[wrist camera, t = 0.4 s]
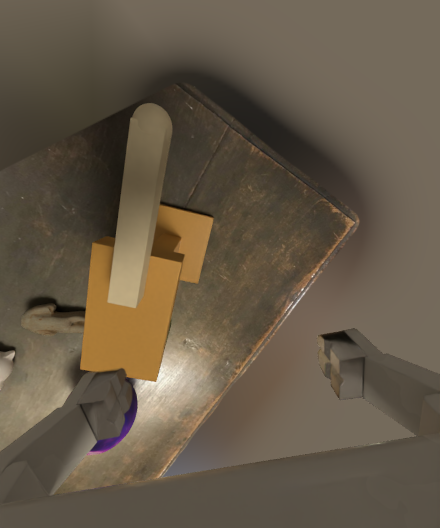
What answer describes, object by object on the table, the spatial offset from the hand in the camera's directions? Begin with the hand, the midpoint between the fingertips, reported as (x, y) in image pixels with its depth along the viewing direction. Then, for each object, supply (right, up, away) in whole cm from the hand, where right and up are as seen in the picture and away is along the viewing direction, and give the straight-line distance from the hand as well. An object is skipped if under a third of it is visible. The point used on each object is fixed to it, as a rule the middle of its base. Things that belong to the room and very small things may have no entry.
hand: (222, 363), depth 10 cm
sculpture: (-33, -7, +42) cm, 55 cm away
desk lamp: (-10, +7, +39) cm, 41 cm away
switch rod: (-7, +9, +10) cm, 15 cm away
